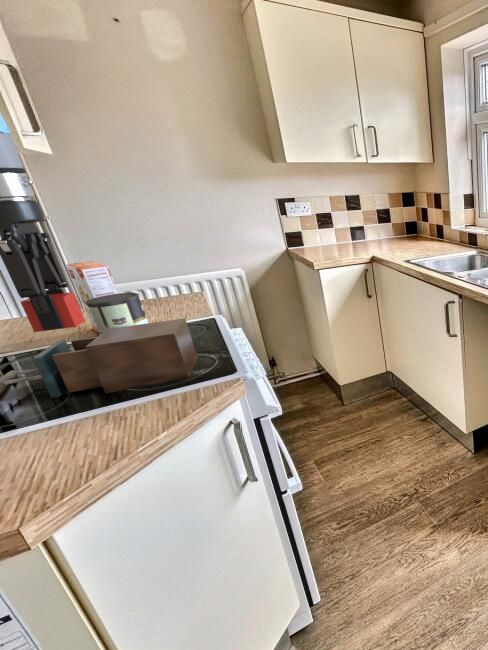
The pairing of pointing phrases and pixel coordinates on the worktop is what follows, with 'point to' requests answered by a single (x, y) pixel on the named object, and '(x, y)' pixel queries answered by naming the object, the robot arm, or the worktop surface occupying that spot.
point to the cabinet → (143, 355)
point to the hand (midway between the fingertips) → (60, 324)
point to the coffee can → (117, 311)
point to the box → (64, 306)
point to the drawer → (61, 368)
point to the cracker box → (91, 283)
